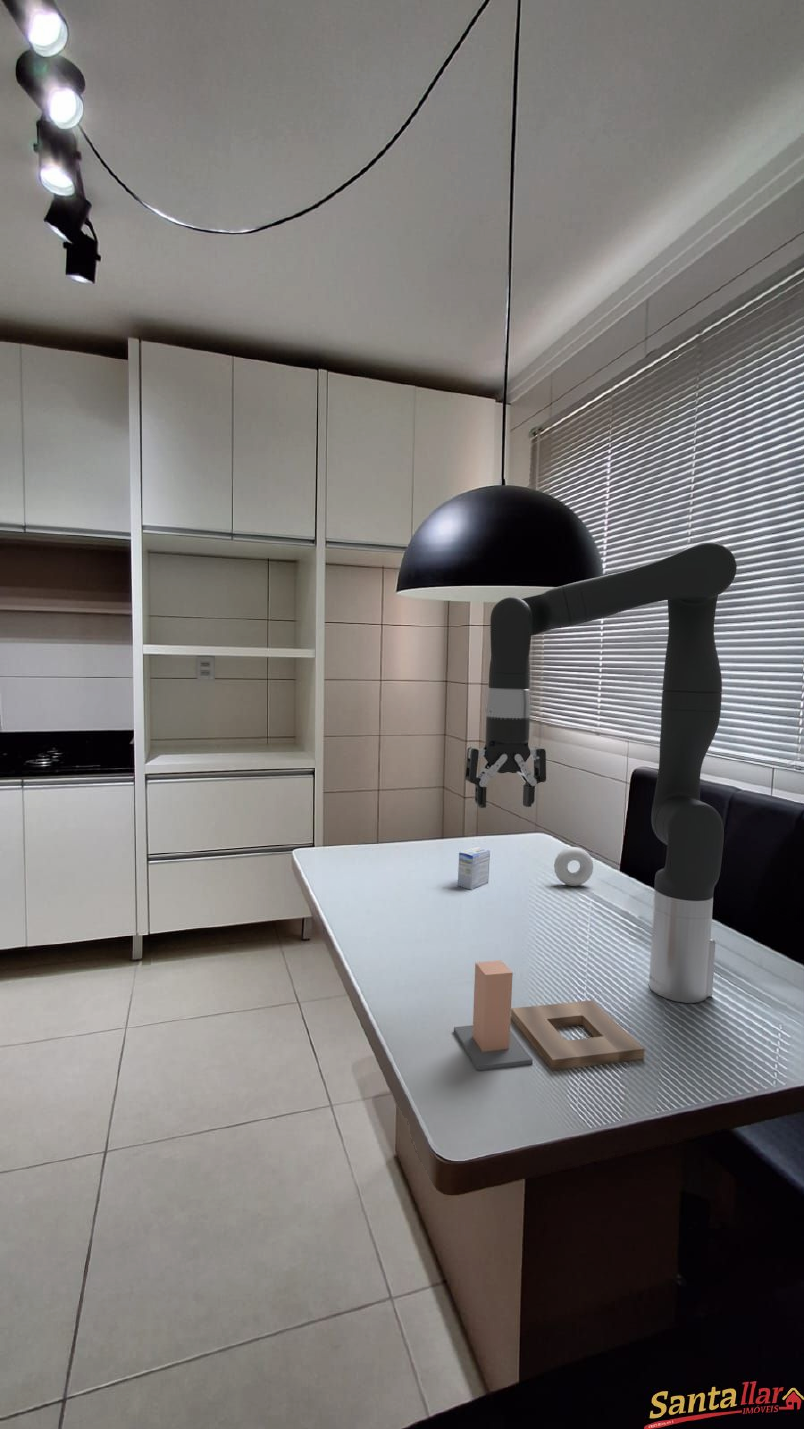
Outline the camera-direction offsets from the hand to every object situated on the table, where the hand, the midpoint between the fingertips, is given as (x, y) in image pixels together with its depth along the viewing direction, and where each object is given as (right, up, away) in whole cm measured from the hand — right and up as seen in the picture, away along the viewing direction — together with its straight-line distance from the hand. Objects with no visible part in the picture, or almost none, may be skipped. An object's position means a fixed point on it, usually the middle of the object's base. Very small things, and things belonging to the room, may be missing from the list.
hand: (504, 806), depth 117 cm
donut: (+25, -28, +53) cm, 65 cm away
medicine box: (0, -27, +51) cm, 58 cm away
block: (-5, -31, -22) cm, 38 cm away
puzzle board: (+7, -31, -19) cm, 37 cm away
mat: (-5, -31, -22) cm, 39 cm away
